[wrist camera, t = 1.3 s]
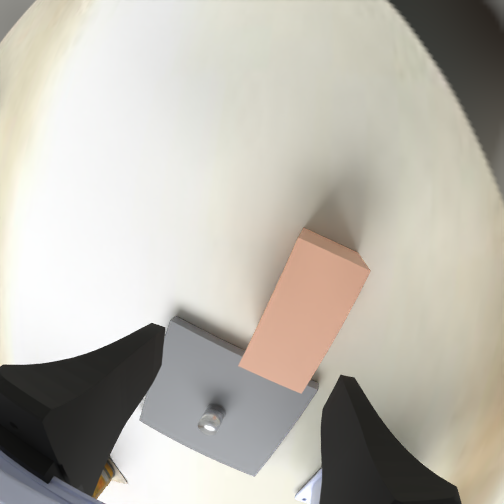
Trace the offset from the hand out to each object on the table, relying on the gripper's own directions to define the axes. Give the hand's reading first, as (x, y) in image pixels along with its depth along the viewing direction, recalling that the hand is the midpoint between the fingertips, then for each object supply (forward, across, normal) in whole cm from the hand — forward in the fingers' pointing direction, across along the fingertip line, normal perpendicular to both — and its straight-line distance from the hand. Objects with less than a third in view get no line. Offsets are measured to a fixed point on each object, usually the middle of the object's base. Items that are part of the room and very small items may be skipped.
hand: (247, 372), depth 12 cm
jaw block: (+10, -3, +1) cm, 11 cm away
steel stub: (+8, +1, +12) cm, 15 cm away
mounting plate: (+9, +1, +12) cm, 15 cm away
